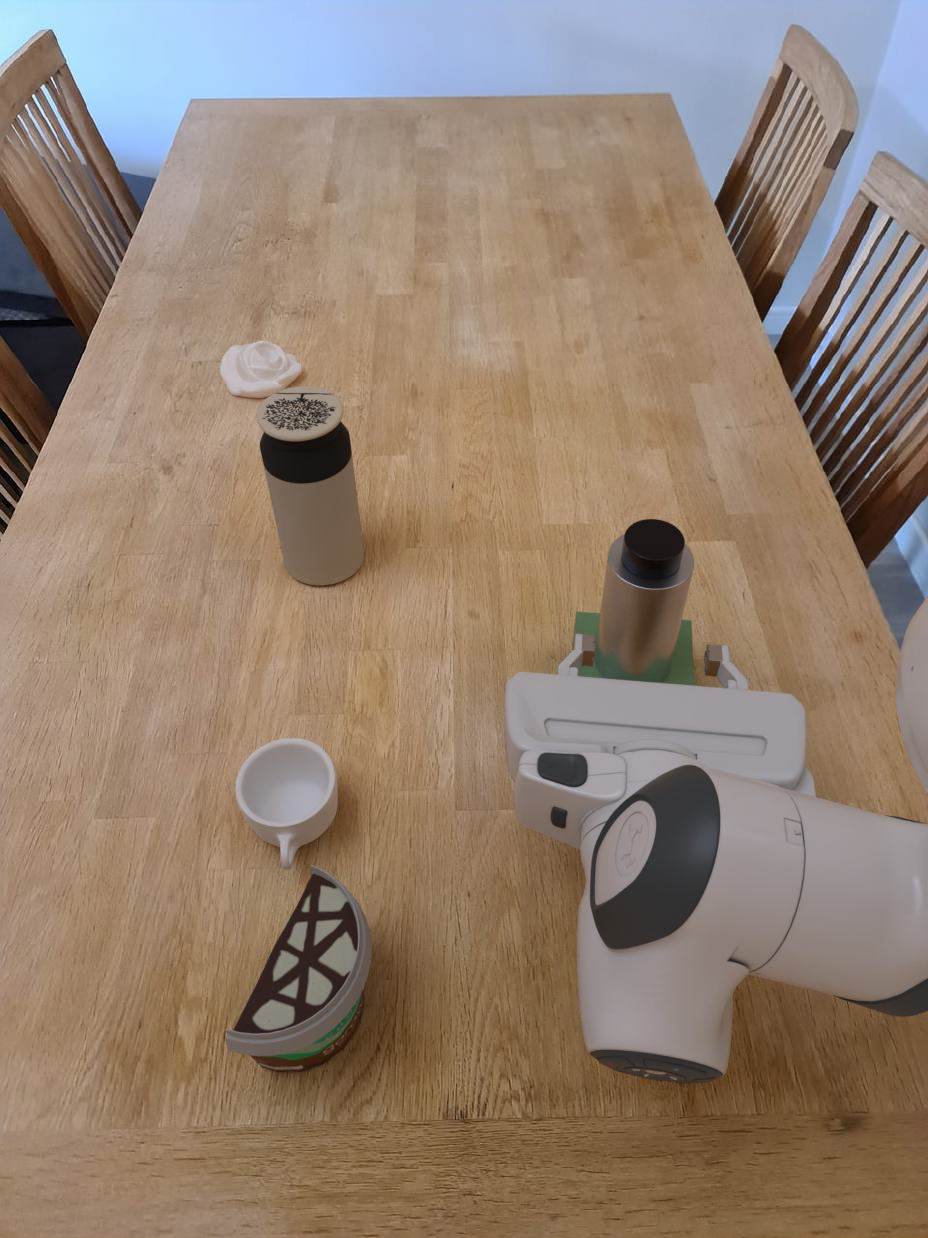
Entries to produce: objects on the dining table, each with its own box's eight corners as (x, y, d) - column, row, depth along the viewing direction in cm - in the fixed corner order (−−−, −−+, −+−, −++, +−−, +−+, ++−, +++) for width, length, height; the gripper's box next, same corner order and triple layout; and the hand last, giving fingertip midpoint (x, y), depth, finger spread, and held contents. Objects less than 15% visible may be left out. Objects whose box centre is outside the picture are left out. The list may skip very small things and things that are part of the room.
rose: (211, 328, 117) (292, 317, 119) (219, 360, 120) (297, 348, 122) (218, 375, 111) (303, 362, 112) (226, 407, 114) (308, 394, 115)
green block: (682, 656, 88) (691, 619, 84) (686, 748, 81) (696, 712, 78) (572, 647, 89) (576, 611, 85) (567, 737, 82) (571, 702, 79)
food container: (335, 1125, 63) (315, 1077, 55) (251, 1090, 64) (220, 1038, 57) (408, 950, 70) (399, 886, 63) (331, 922, 72) (314, 857, 64)
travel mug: (353, 592, 94) (331, 443, 80) (274, 582, 95) (240, 433, 81) (373, 536, 99) (356, 387, 86) (298, 527, 100) (269, 379, 87)
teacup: (250, 778, 80) (238, 741, 76) (344, 772, 80) (336, 734, 76) (241, 891, 73) (227, 857, 69) (343, 883, 74) (335, 849, 70)
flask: (670, 634, 83) (697, 512, 73) (671, 693, 79) (700, 573, 69) (595, 628, 84) (611, 506, 73) (592, 686, 80) (609, 566, 69)
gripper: (833, 799, 58) (807, 627, 67) (494, 769, 60) (512, 605, 69) (807, 850, 63) (786, 683, 72) (493, 821, 65) (511, 661, 74)
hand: (649, 644), depth 71 cm, fingers open, 8 cm apart
